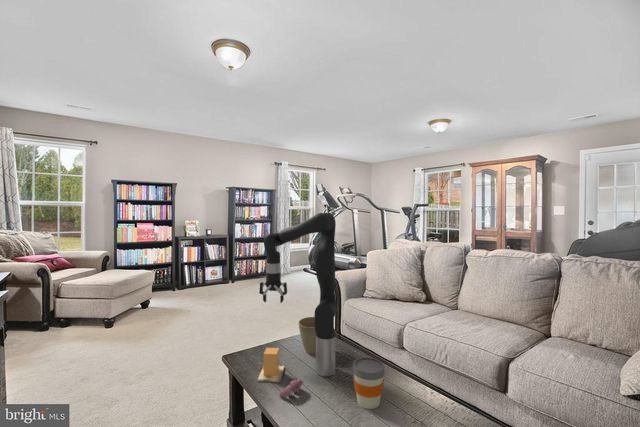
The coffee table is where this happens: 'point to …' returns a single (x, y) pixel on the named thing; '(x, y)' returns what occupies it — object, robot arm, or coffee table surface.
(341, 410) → the coffee table surface
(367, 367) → the reusable coffee cup
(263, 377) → the flat beige base block
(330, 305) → the robot arm
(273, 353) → the tall orange pillar
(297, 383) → the video game controller
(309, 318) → the plant pot
